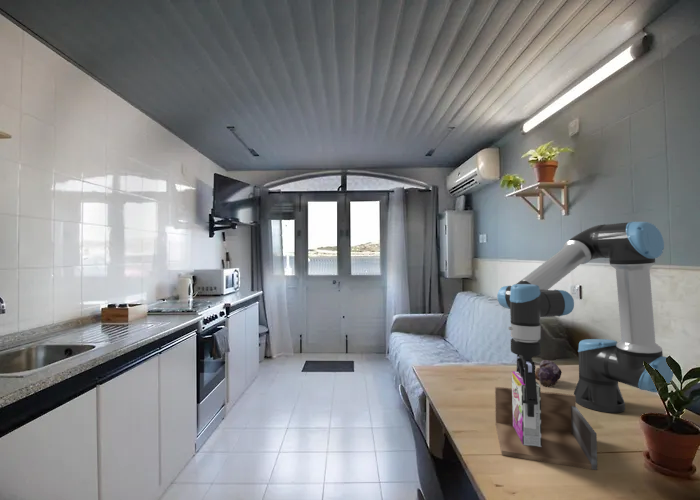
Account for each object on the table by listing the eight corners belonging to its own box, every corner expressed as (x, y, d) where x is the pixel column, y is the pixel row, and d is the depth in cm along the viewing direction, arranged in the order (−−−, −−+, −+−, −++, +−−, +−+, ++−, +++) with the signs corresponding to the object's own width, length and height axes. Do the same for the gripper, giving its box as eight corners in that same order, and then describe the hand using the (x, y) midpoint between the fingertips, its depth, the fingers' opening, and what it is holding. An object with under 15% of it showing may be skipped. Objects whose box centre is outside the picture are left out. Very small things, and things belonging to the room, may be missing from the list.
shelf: (574, 435, 104) (574, 394, 105) (597, 470, 87) (596, 421, 87) (495, 424, 111) (495, 386, 111) (501, 455, 94) (501, 410, 94)
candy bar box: (511, 426, 104) (510, 370, 104) (529, 428, 103) (528, 371, 103) (522, 446, 93) (521, 383, 93) (542, 448, 92) (541, 385, 92)
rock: (536, 388, 145) (564, 391, 141) (535, 369, 144) (563, 371, 140) (533, 375, 155) (559, 377, 152) (532, 357, 155) (558, 359, 151)
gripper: (505, 330, 111) (506, 399, 110) (517, 348, 88) (517, 436, 88) (531, 331, 108) (532, 402, 108) (550, 351, 86) (551, 441, 85)
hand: (526, 417), depth 98 cm, fingers closed on candy bar box, 11 cm apart
